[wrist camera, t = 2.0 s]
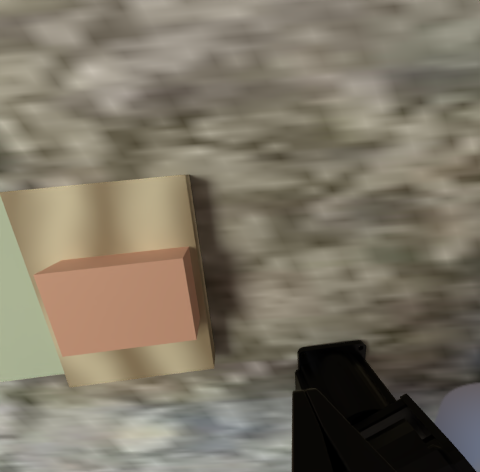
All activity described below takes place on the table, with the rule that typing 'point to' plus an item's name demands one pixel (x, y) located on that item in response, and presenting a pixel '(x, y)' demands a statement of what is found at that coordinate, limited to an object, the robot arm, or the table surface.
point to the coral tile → (121, 300)
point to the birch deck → (109, 243)
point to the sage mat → (21, 316)
